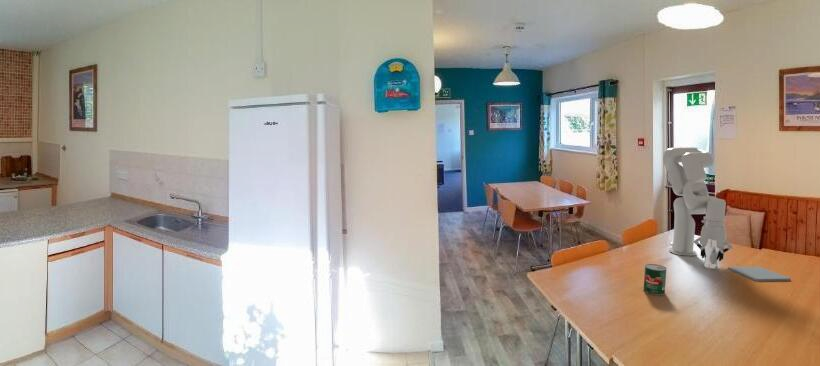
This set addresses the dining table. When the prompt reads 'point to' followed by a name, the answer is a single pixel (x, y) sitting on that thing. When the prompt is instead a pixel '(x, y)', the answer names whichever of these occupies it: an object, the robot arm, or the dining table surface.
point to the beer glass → (711, 254)
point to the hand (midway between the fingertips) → (711, 258)
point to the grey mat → (759, 274)
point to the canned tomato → (655, 279)
